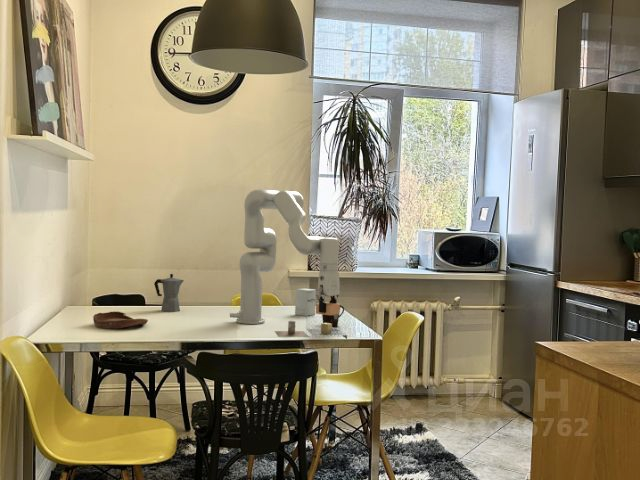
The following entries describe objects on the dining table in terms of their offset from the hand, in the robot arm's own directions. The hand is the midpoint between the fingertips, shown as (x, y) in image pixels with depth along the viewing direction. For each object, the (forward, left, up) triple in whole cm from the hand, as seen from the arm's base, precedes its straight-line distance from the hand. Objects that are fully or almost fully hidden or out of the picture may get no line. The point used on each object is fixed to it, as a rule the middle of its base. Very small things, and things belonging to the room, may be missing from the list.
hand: (327, 311), depth 272 cm
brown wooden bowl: (-83, +21, -11) cm, 87 cm away
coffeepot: (-65, +66, -10) cm, 94 cm away
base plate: (0, 0, -10) cm, 10 cm away
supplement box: (+1, +57, -10) cm, 58 cm away
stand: (-15, -4, -10) cm, 19 cm away
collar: (0, 0, -1) cm, 1 cm away
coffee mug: (+8, +23, -10) cm, 27 cm away
